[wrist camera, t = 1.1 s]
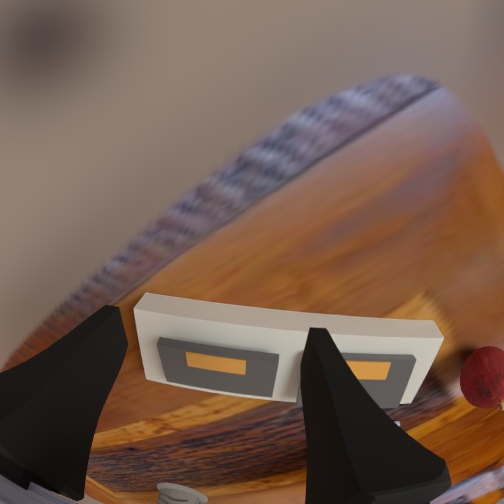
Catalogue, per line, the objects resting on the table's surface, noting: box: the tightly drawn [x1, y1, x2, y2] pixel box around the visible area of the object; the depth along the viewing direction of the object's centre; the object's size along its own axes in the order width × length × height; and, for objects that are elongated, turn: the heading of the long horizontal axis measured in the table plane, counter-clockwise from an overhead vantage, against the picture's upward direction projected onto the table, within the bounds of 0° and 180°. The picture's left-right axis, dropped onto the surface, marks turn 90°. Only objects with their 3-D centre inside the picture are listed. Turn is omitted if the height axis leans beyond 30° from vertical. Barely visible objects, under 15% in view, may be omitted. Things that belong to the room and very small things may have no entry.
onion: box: [460, 346, 504, 411], centre depth 21 cm, size 6×6×8 cm
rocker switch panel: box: [133, 292, 444, 404], centre depth 25 cm, size 12×25×3 cm, turn 86°
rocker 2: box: [296, 353, 417, 408], centre depth 22 cm, size 5×9×1 cm, turn 86°
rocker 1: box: [156, 337, 279, 398], centre depth 23 cm, size 5×9×1 cm, turn 86°
